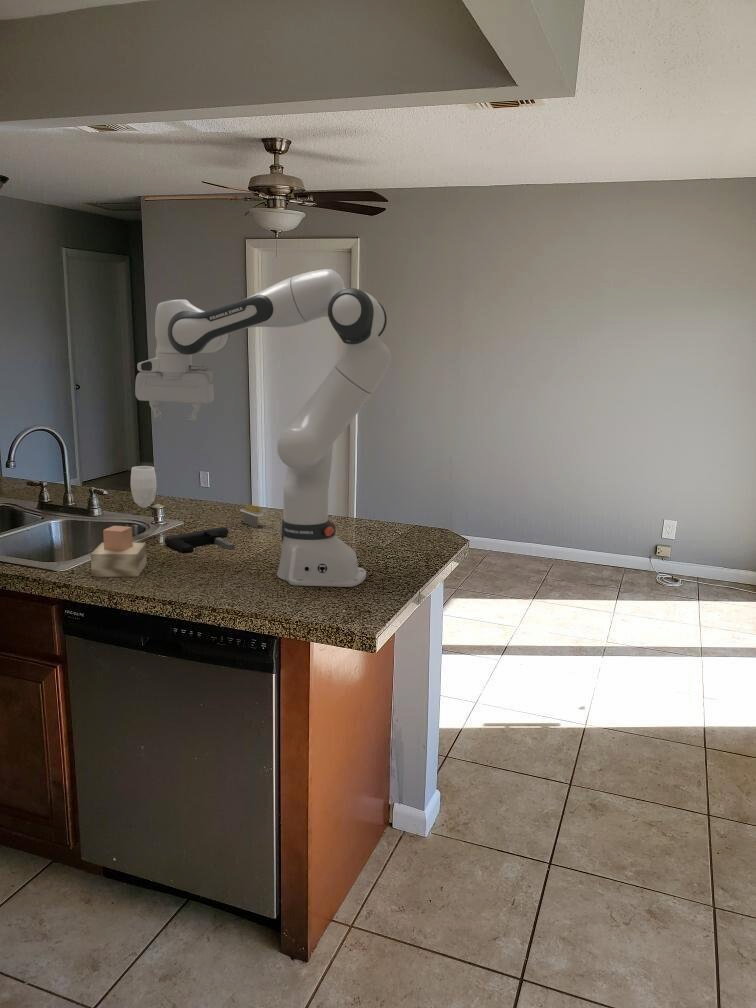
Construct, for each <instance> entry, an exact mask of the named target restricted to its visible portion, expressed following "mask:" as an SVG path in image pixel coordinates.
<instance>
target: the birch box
mask: <svg viewBox="0 0 756 1008" xmlns="http://www.w3.org/2000/svg"><path fill="white" fill-rule="evenodd" d="M147 563H148V562H147V542H133V546H132V547H130V548H128V549H126V550H124V551H114V550H104V542H101V543H100V544H99V545H97V547H96V548H95V549H94V550H93V551H92V552H91V553H90V566H91V572H90V573H91V577H92V576H96V577H97V576H98V577H101V578H102V577H105V578H107V577H109V578H110V577H111V578H112V577H114V578H116V577H117V578H118V577H119V578H120V577H123V578H124V577H125V578H128V577H129V578H130V577H132V578H133V577H139V576H140V574H141V573H142V571H143V570H144V568H145V567H146V565H147ZM98 577H97V578H98Z"/></svg>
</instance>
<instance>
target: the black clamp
mask: <svg viewBox="0 0 756 1008" xmlns="http://www.w3.org/2000/svg"><path fill="white" fill-rule="evenodd" d="M228 535H229V529H228V528H227V527H222V526H219V527H215V528H214V527H213V528H210V529H202V530H196V531H190V532H184V533H180V534H179V533H178V534H174V535H173V534H172V535H168V536H166V537H165V538H164V545H166V546H167V547H171V548H173V549H175V550H177V551H178V552H180V553H182V554H189V553H193V552H194V551H195V548H197V547H202V546H207V545H213V544H215V545H217V546H220V547H222V548H225V549H227V550H232V549H235V544H234V543H232V542H230V541H229V540H227V539H224V537H226V536H228Z"/></svg>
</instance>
